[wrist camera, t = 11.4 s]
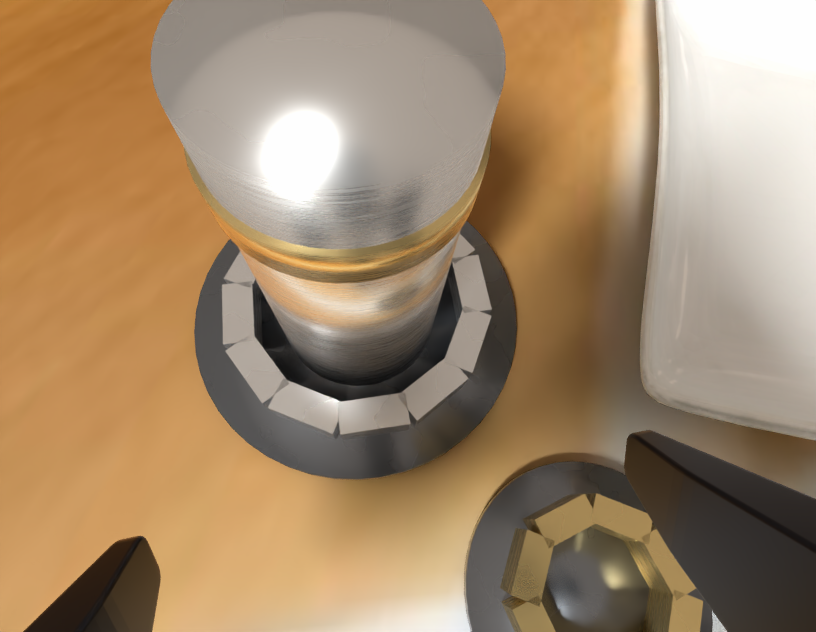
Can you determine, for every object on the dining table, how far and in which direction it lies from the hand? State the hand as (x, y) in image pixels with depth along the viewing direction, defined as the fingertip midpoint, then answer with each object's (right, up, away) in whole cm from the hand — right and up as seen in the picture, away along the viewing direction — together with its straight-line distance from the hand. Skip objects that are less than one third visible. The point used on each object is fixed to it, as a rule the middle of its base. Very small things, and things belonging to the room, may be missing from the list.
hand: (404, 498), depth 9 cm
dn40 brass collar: (+7, -7, +9) cm, 13 cm away
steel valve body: (-2, +3, +12) cm, 13 cm away
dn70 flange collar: (-2, +3, +12) cm, 13 cm away
